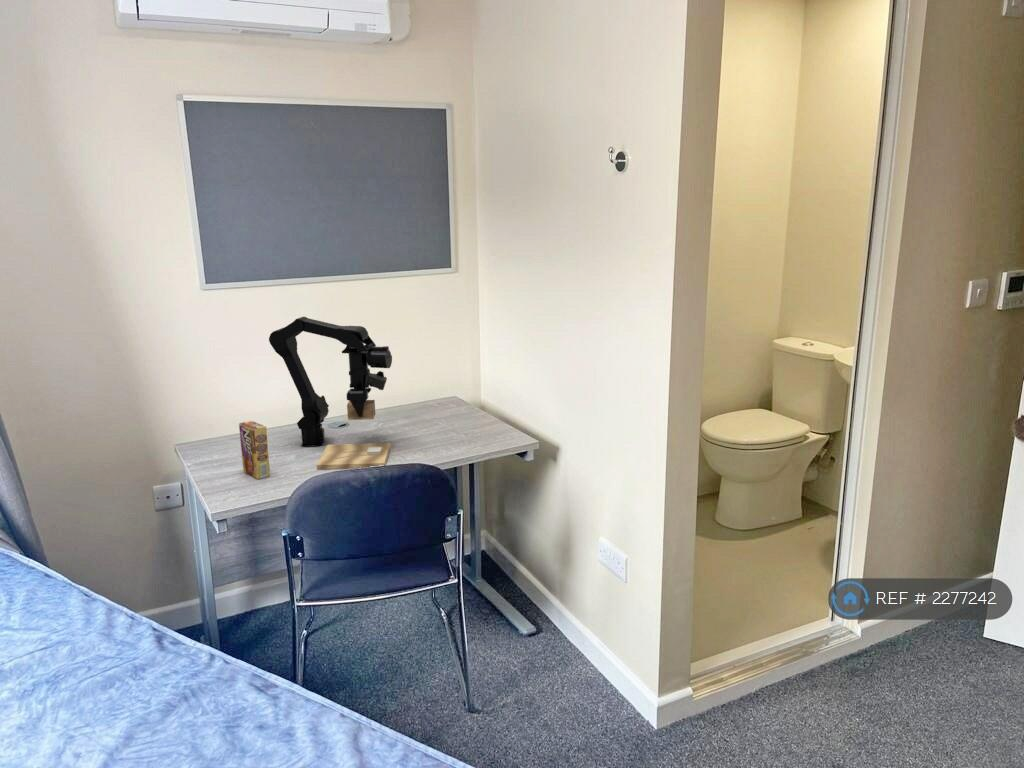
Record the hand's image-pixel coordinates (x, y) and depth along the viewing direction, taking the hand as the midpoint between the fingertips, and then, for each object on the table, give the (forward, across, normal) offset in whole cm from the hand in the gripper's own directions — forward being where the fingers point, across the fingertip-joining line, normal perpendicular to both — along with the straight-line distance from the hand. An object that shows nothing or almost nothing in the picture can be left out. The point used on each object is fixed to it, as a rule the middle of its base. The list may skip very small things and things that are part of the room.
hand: (361, 414), depth 240 cm
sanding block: (+1, 0, 0) cm, 1 cm away
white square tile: (+9, -11, -5) cm, 15 cm away
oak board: (+11, -11, +1) cm, 15 cm away
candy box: (+11, -21, +29) cm, 37 cm away
